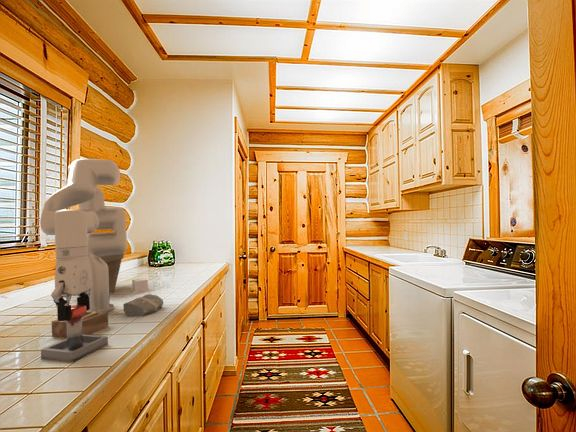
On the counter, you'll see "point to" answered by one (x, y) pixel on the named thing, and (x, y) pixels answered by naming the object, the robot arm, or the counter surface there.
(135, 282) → the pale pink cube
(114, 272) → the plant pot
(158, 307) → the decorative stone
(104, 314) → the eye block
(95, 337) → the tray
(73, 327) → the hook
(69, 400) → the counter surface
